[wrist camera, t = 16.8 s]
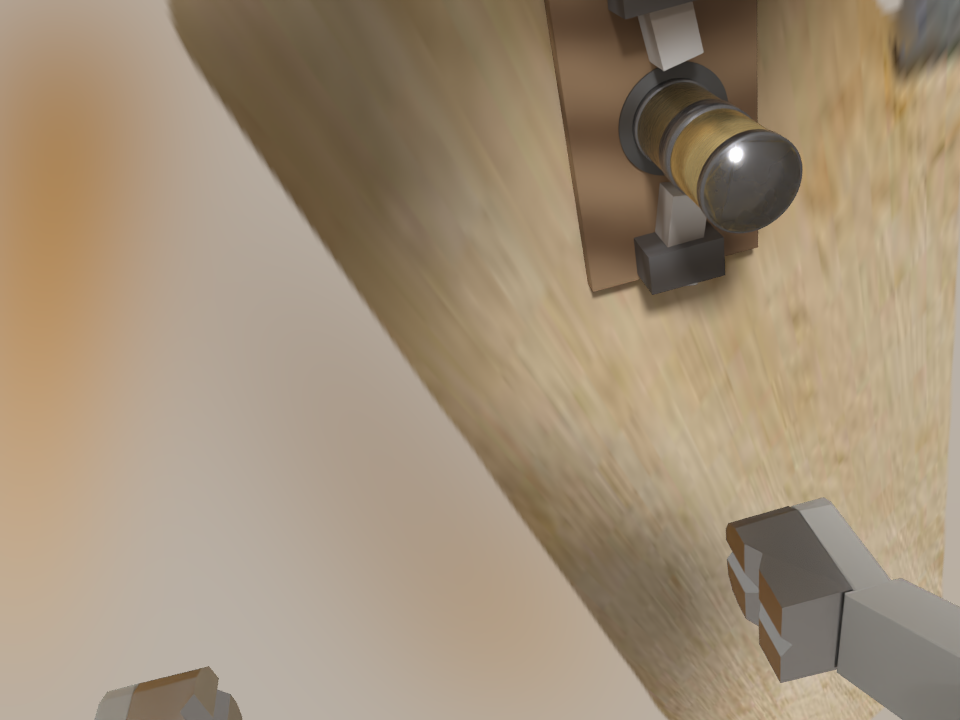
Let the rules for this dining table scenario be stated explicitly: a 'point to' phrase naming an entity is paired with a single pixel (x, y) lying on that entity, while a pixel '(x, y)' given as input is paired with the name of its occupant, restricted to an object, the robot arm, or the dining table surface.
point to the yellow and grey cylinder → (717, 155)
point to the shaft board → (609, 139)
